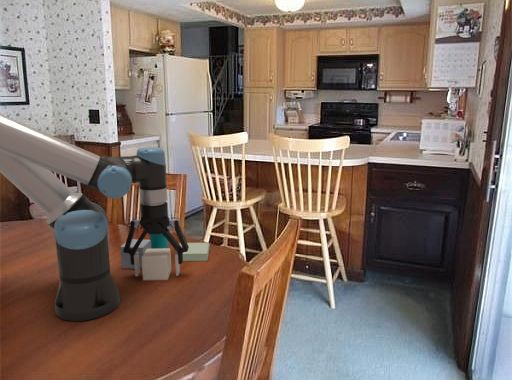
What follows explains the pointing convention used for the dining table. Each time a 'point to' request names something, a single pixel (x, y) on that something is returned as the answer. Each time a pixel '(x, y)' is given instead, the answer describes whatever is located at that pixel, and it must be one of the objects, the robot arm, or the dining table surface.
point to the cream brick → (156, 264)
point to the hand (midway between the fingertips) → (157, 274)
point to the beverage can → (158, 241)
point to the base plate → (196, 252)
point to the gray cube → (141, 249)
